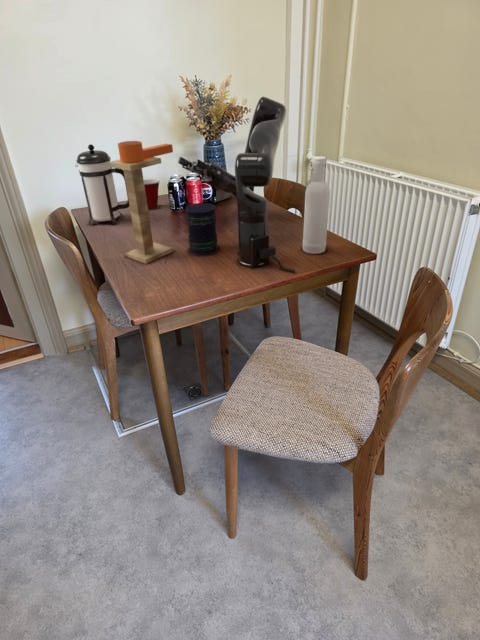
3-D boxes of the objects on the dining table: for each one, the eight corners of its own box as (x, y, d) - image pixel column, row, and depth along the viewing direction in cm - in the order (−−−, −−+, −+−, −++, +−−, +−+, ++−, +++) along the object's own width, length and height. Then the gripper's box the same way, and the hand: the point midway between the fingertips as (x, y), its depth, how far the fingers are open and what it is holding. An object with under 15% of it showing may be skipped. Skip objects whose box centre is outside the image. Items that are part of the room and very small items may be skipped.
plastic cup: (165, 203, 194) (162, 177, 188) (159, 211, 185) (156, 183, 179) (143, 204, 195) (139, 177, 189) (136, 211, 186) (131, 183, 180)
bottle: (318, 243, 148) (324, 153, 132) (330, 251, 142) (338, 158, 126) (298, 247, 146) (302, 156, 130) (309, 255, 139) (314, 161, 123)
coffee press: (97, 230, 167) (80, 150, 151) (82, 220, 178) (64, 144, 162) (136, 219, 176) (124, 143, 160) (119, 211, 187) (106, 138, 171)
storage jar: (192, 257, 141) (188, 213, 134) (187, 246, 150) (182, 205, 142) (221, 253, 144) (218, 210, 136) (214, 242, 152) (211, 201, 144)
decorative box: (241, 199, 197) (240, 178, 191) (208, 209, 185) (207, 187, 180) (222, 194, 205) (221, 173, 200) (190, 203, 193) (188, 182, 188)
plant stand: (153, 245, 151) (139, 154, 135) (172, 251, 146) (160, 158, 129) (126, 256, 144) (108, 161, 127) (146, 263, 138) (129, 165, 122)
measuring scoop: (162, 150, 140) (160, 134, 137) (177, 152, 136) (175, 135, 133) (115, 161, 127) (112, 143, 124) (130, 164, 123) (127, 145, 121)
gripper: (205, 164, 162) (176, 148, 148) (233, 168, 154) (206, 152, 141) (200, 184, 163) (170, 169, 149) (228, 189, 155) (200, 174, 142)
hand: (188, 161), depth 145 cm, fingers open, 8 cm apart
